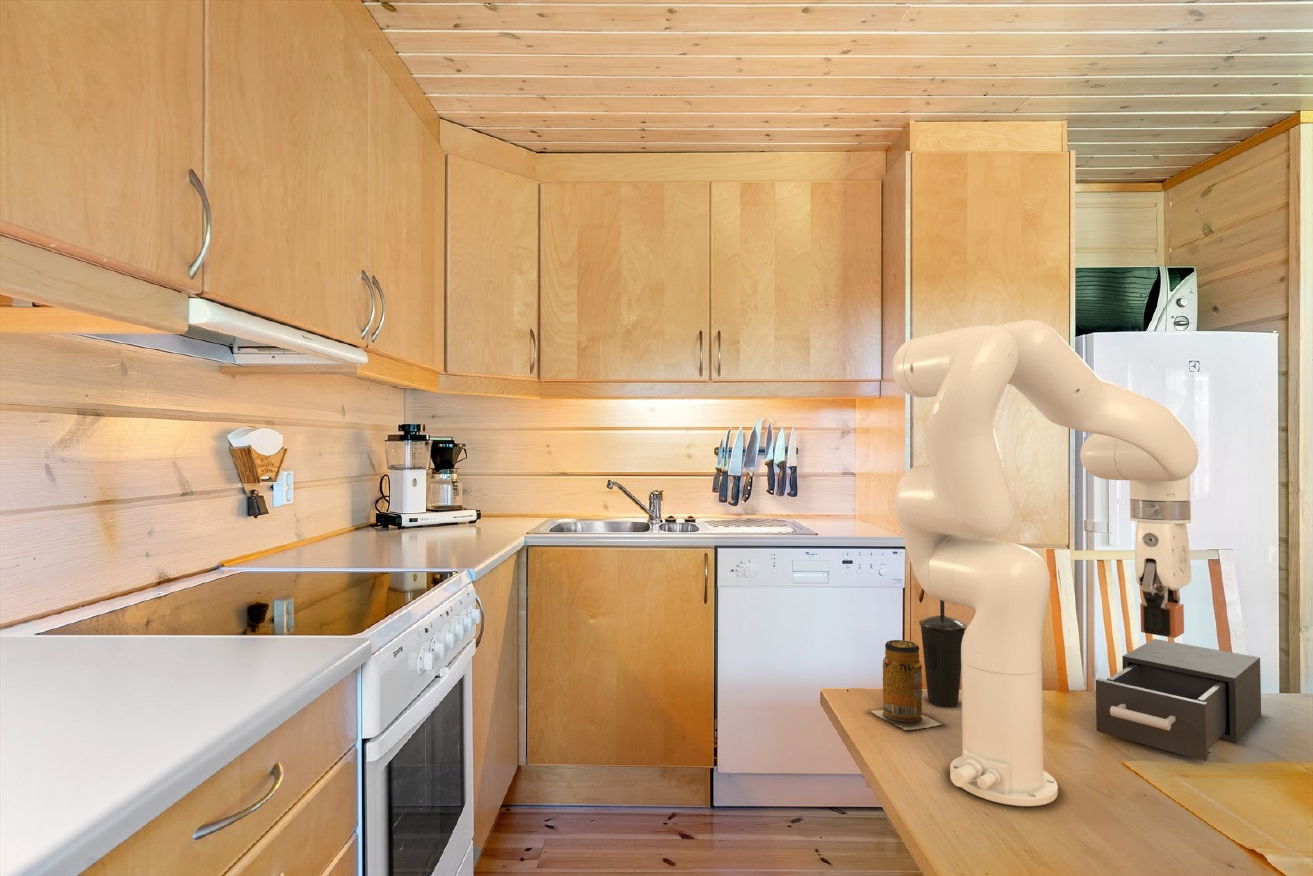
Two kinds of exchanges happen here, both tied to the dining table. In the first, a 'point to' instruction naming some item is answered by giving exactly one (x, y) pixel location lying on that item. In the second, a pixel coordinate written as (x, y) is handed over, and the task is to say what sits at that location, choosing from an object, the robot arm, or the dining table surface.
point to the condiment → (903, 687)
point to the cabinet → (1211, 676)
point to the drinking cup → (942, 657)
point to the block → (1171, 619)
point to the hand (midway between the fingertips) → (1162, 630)
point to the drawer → (1163, 709)
